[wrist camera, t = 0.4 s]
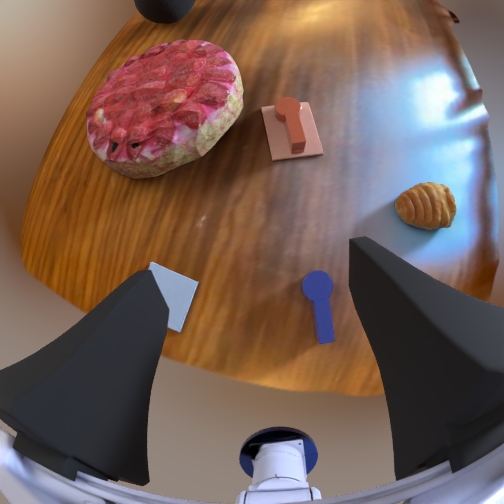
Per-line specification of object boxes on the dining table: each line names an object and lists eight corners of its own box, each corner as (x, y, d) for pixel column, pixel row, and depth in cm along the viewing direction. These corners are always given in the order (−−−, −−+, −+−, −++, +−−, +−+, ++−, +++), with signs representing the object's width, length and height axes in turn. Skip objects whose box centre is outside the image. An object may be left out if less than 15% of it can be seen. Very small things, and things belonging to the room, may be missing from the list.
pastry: (398, 236, 33) (411, 231, 29) (387, 188, 34) (398, 178, 30) (449, 228, 32) (463, 222, 28) (437, 184, 33) (450, 175, 29)
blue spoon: (336, 335, 32) (342, 339, 29) (308, 340, 32) (311, 346, 29) (327, 269, 33) (332, 267, 30) (298, 274, 33) (301, 273, 30)
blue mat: (198, 282, 34) (197, 282, 34) (180, 332, 34) (179, 332, 33) (152, 262, 35) (151, 261, 34) (135, 309, 34) (134, 310, 34)
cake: (226, 189, 34) (211, 158, 26) (81, 180, 37) (51, 160, 29) (257, 61, 38) (252, 25, 30) (132, 70, 41) (115, 44, 33)
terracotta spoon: (310, 151, 34) (313, 140, 32) (284, 154, 35) (285, 144, 32) (296, 103, 36) (298, 91, 33) (272, 106, 36) (272, 93, 33)
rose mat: (323, 154, 35) (323, 153, 34) (272, 161, 35) (272, 159, 35) (307, 103, 36) (307, 102, 35) (261, 108, 36) (261, 107, 36)
